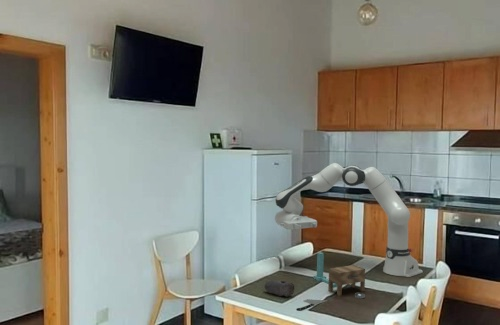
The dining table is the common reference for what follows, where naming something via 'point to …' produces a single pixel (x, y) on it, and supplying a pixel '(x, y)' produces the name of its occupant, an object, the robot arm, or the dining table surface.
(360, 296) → the metal token
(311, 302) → the cleaver
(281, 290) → the perforated stone tool
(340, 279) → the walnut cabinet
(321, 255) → the teal post stand
